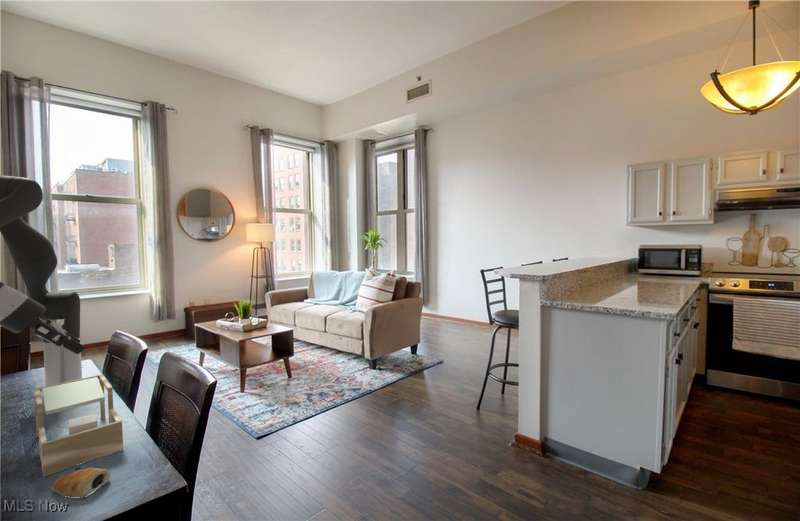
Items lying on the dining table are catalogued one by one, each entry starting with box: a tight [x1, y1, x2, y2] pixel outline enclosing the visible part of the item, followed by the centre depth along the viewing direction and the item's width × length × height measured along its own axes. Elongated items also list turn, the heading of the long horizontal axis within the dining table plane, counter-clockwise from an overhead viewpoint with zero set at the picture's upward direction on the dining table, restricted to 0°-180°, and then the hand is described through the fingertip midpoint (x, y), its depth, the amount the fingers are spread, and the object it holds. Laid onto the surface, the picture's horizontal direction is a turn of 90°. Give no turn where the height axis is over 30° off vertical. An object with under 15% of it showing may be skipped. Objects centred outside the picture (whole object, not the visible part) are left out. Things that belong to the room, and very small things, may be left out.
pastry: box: [51, 467, 111, 498], centre depth 75 cm, size 9×7×4 cm
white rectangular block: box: [68, 412, 99, 435], centre depth 87 cm, size 5×5×8 cm
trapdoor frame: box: [33, 374, 124, 478], centre depth 91 cm, size 24×14×12 cm, turn 47°
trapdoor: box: [41, 377, 106, 416], centre depth 95 cm, size 11×11×1 cm
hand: (79, 347), depth 93 cm, fingers open, 8 cm apart
